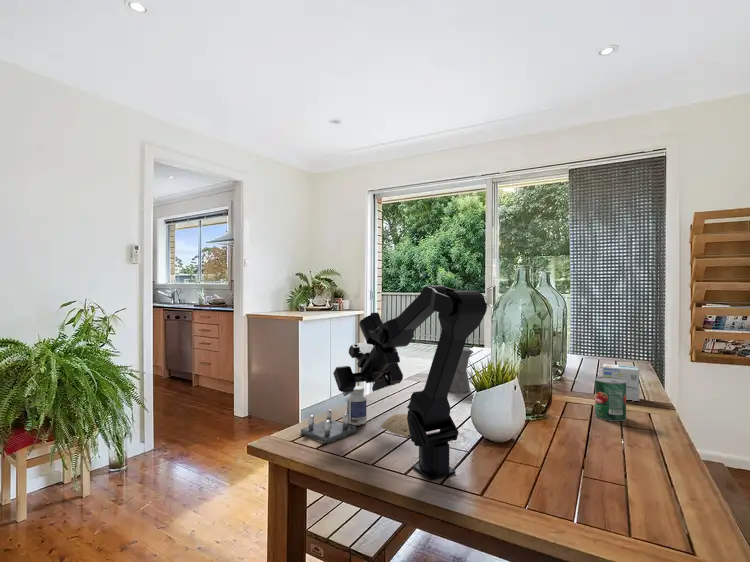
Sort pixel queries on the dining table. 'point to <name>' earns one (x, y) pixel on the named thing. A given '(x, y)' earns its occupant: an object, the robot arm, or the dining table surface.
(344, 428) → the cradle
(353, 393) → the pill bottle
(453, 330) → the robot arm
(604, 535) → the dining table surface
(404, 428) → the clay tablet
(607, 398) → the canned tomato
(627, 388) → the light bulb box
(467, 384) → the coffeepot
